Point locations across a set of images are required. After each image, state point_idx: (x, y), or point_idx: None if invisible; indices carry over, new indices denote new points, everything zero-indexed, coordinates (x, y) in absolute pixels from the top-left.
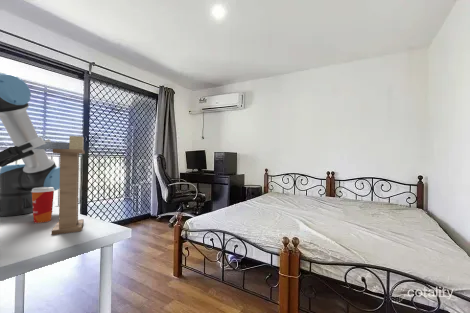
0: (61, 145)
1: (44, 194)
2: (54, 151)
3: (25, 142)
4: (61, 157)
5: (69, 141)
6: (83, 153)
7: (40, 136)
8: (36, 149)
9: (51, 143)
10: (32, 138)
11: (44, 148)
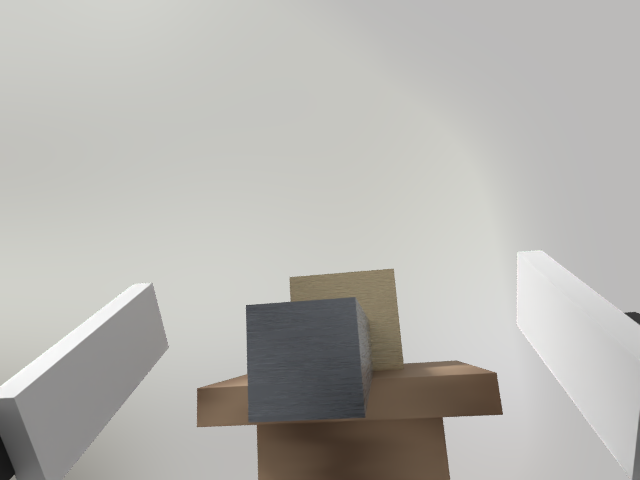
0: (369, 341)
1: None
2: (497, 396)
3: (620, 311)
4: (444, 445)
5: (397, 308)
6: None
7: (539, 251)
8: (74, 423)
9: (366, 326)
10: None
11: (369, 383)
